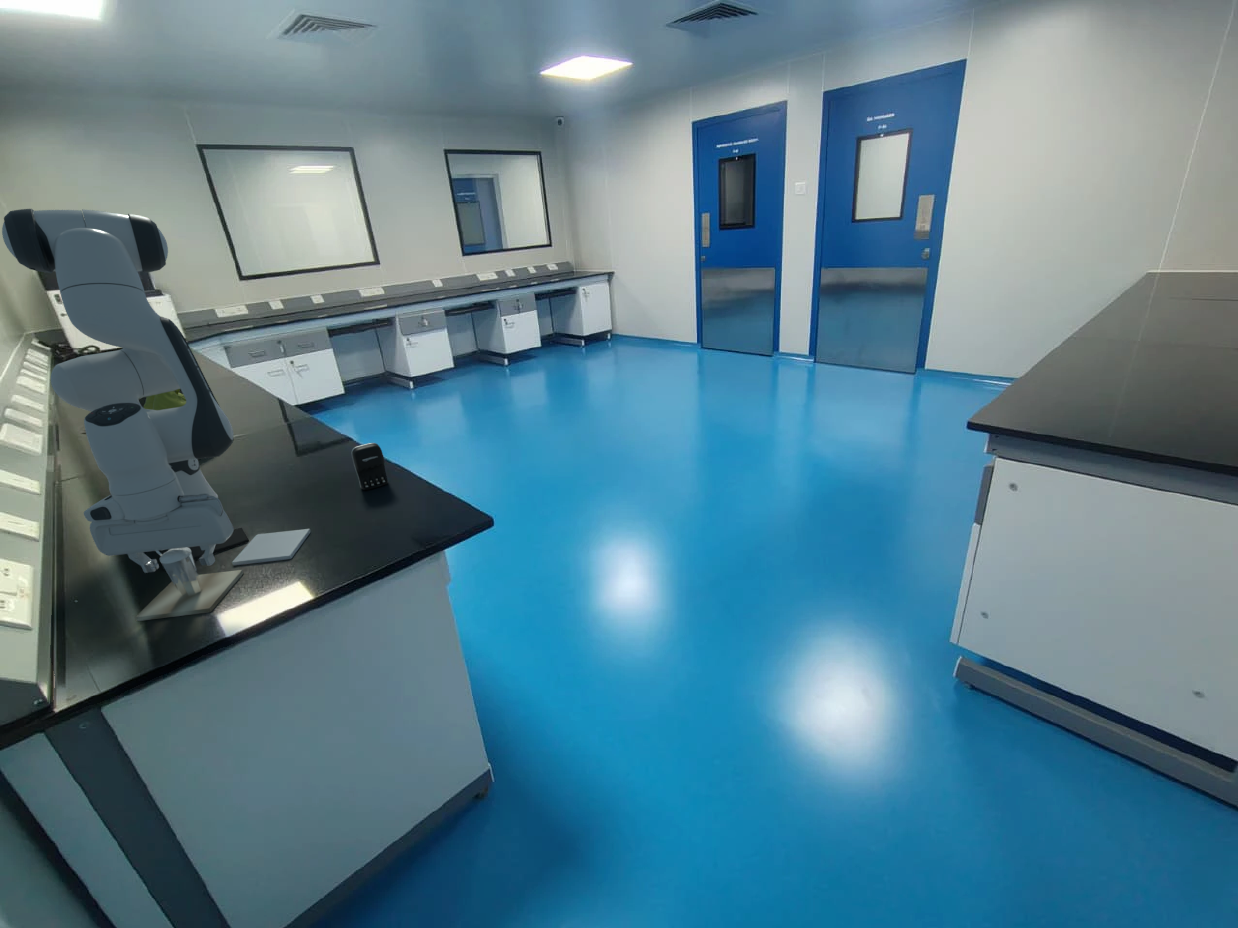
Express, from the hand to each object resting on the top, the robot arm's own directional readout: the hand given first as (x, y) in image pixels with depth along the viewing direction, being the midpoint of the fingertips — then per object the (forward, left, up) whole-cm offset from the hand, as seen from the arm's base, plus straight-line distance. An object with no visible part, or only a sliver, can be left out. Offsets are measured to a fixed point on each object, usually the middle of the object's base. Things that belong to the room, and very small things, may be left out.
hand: (180, 567), depth 98 cm
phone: (-7, +18, -7) cm, 21 cm away
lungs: (-46, +86, -7) cm, 98 cm away
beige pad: (0, 0, -6) cm, 6 cm away
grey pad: (+8, +15, -6) cm, 18 cm away
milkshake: (0, 0, -6) cm, 6 cm away
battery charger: (+22, +42, -6) cm, 48 cm away
